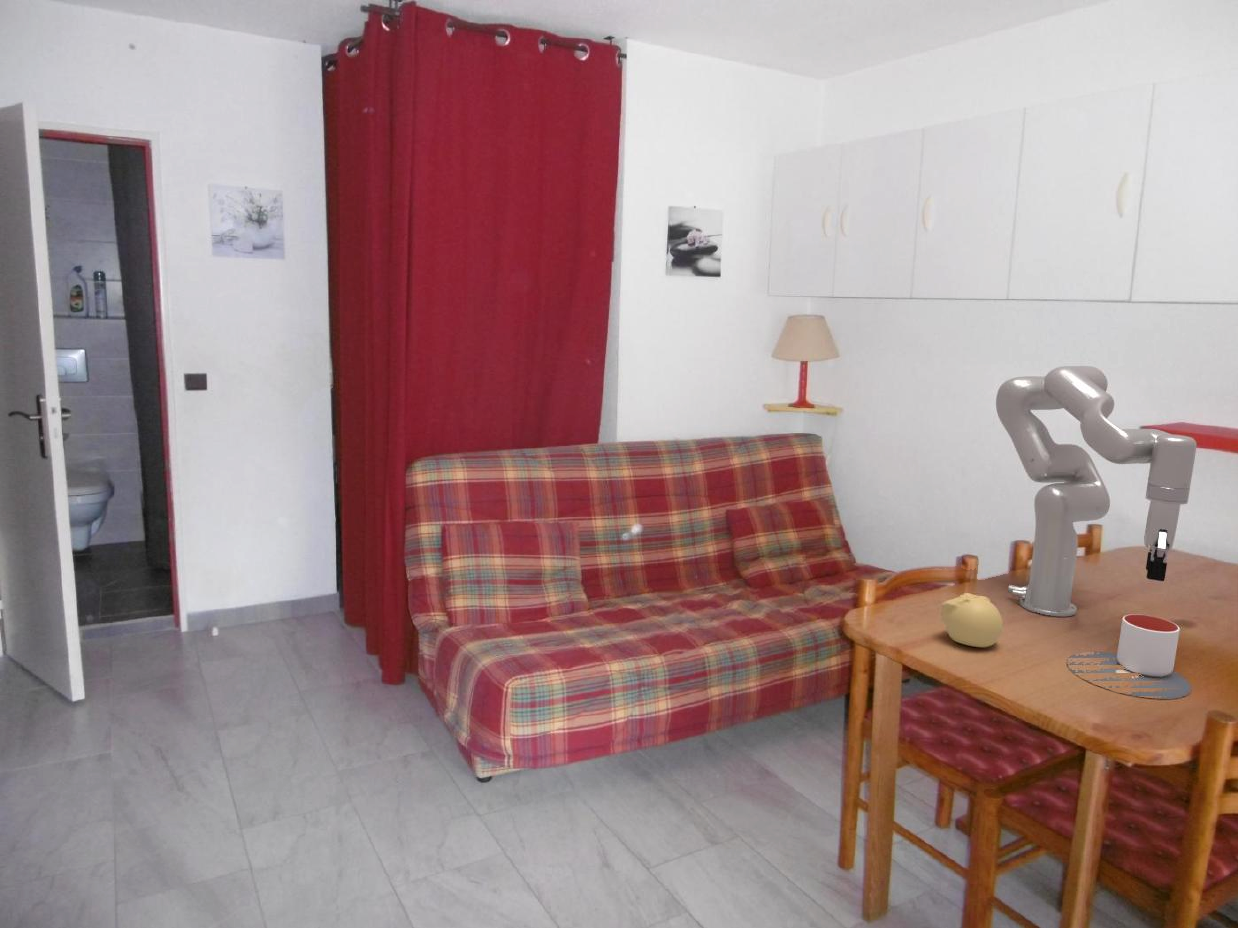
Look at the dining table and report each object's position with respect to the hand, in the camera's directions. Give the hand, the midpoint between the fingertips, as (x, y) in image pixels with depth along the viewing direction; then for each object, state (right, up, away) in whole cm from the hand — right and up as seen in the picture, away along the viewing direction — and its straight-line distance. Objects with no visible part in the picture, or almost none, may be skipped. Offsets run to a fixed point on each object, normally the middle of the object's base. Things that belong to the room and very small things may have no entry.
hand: (1154, 574), depth 181 cm
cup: (-6, -19, -6) cm, 21 cm away
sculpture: (-37, -16, +7) cm, 41 cm away
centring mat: (-11, -19, -8) cm, 24 cm away
